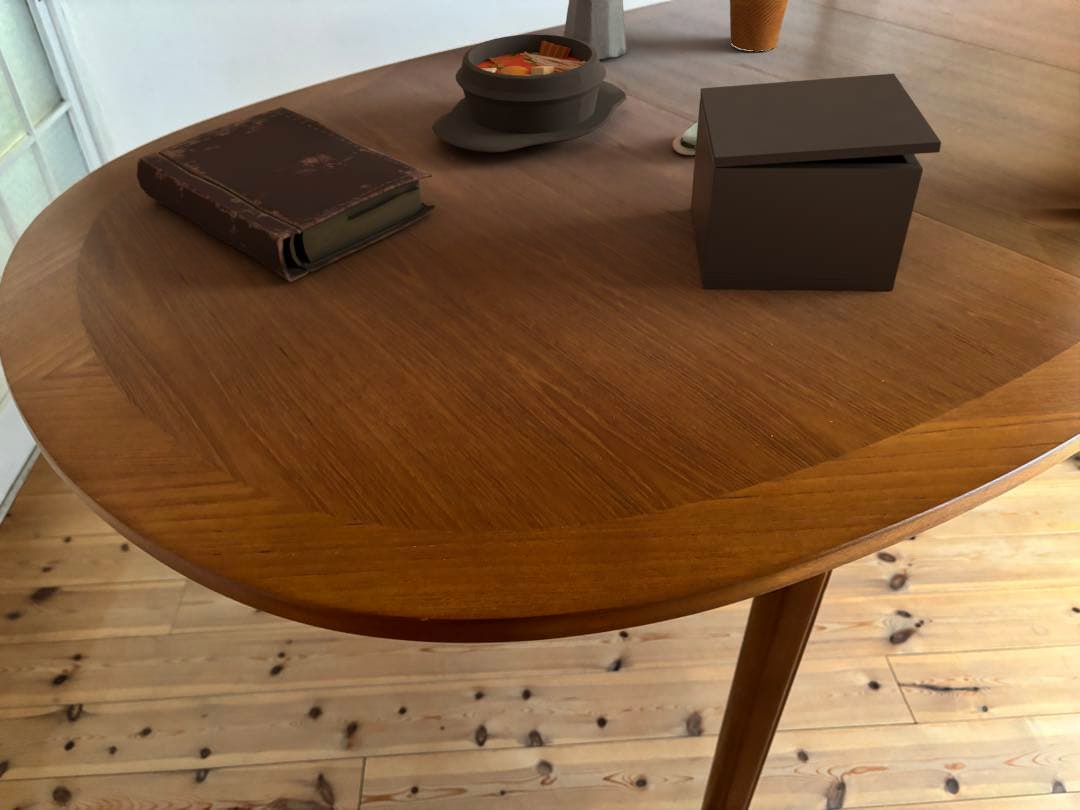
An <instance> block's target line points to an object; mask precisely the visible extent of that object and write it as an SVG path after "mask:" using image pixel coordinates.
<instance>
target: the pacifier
mask: <svg viewBox="0 0 1080 810" xmlns="http://www.w3.org/2000/svg"><path fill="white" fill-rule="evenodd" d="M697 128H698V121H697V122H696V123H694V124H693V125H691V127H689V128H688V129H687V130H686V131H685V132H682V133H680V134H678V135H677V136H676V137H675V138H673V141H672V148H673V150H674V151H675V152H676V153H678V154H680V155H684V156H695V152H696V140H697ZM683 142H685V143H687V144H689V145H692V146H693V148H692V147H691V148H689V147H685V146H683V145H682V143H683Z"/></svg>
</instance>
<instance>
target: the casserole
mask: <svg viewBox="0 0 1080 810" xmlns="http://www.w3.org/2000/svg"><path fill="white" fill-rule="evenodd" d="M606 76H607V70H606V68H605V66H604V65H603V64H602V63H601V61H600V59H599V58H598V55H597V52H596V50H595V49H594V48H593V47H592V46H591V45H589V44H587V43H585V42H583V41H580V40H577V39H573V38H569V37H564V35H563V36H562V35H554V34H537V33H536V34H535V33H534V34H530V33H529V34H517V35H516V34H515V35H509V36H502V37H497V38H493V39H490V40H489V39H488V40H486V41H483V42H481V43H478V44H476V45H474V46H472V47H470V48H469V49H468V50H466V52H465V53H464V54H463V58H462V62H461V66H460V67H459V68H458V70H457V71H456V74H455V82H456V83H457V84H458V86H459V87H460V88H461V89H462V91H463V96H464V97H463V98H461V99H460V100H459V102H457V103H456V104H455V105H454V107H452V109H451V110H450V111H448V112H447V113H444V114H443V115H441V116H440V117H439V118H437V120H435V121H434V122H433V124H432V126H431V130H432V132H433V134H434V135H435V136H437V137H438V138H439V139H440V140H442V141H444V142H445V143H447V144H449V145H451V146H455V147H458V148H461V149H464V150H470V151H475V152H480V153H489V154H497V153H507V152H512V151H517V150H520V149H524V148H527V147H532V146H538V145H547V144H553V143H561V142H565V141H570V140H573V139H578V138H581V137H583V136H586V135H588V134H590V133H593V132H595V131H597V130H598V129H601V127H603V126H604V125H606V123H608V122H609V120H610V119H611V117H612V115H613V114H614V112H615V110H616V109H618V107H619V106H621V105H622V103H624V102H625V101H626V100H627V93H625V92H624V91H623V89H621V88H620V87H619V86H616V85H614V84H613V83H610V82H607V81H604V80H605V78H606Z"/></svg>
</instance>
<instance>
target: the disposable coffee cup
mask: <svg viewBox="0 0 1080 810" xmlns="http://www.w3.org/2000/svg"><path fill="white" fill-rule="evenodd" d="M788 3H789V0H729V18H730V19H729V23H730V24H729V25H730V27H729V28H730V29H729V30H730V32H729V33H730V44H731V43H732V44H733V45H734V46H736V47H738V48H741V49H746V50H753V51H761V50H763V51H764V50H769V49H772V48H774V47H775V46H776V47H777V46H778V45H777V44H778V40H779V36H780V33H781V28H782V25H783V22H784V18H785V14H786V10H787V6H788ZM776 47H775V48H776ZM775 48H774V49H775ZM772 50H773V49H772ZM769 51H770V50H769Z"/></svg>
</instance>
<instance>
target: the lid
mask: <svg viewBox="0 0 1080 810" xmlns="http://www.w3.org/2000/svg"><path fill="white" fill-rule="evenodd" d="M906 90H907V89H906V88H905V87H904V86H903V84H902V83H901V81H900V80H899V78H898V77H897V76H896V74H895V73H884V74H883V73H881V74H868V75H857V76H856V75H855V76H844V77H831V78H819V79H805V80H791V81H779V82H767V83H765V82H764V83H753V84H751V83H750V84H739V85H729V86H728V85H727V86H716V87H714V86H713V87H700V98H701V102H702V107H703V112H704V117H705V122H706V126H707V131H708V136H709V141H710V146H711V151H712V155H713V160H714V165H715V167H730V166H744V165H759V164H774V163H789V162H803V161H818V160H833V159H848V158H863V157H877V156H892V155H907V154H914V155H921V154H922V155H923V154H935V153H940V152H941V146H942V141H941V140H940V137H938V135H937V134H936V132H935V130H934V128H932V126H931V125H930V124H929V122H928V120H927V119H926V118H925V116H924V115H923V113H922V112H921V110H920V109H919V108H918V106H917V105H916V103H915V101H914V100H913V98H912V97H911V96H910V95H909V93H908V92H907V91H906Z"/></svg>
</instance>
